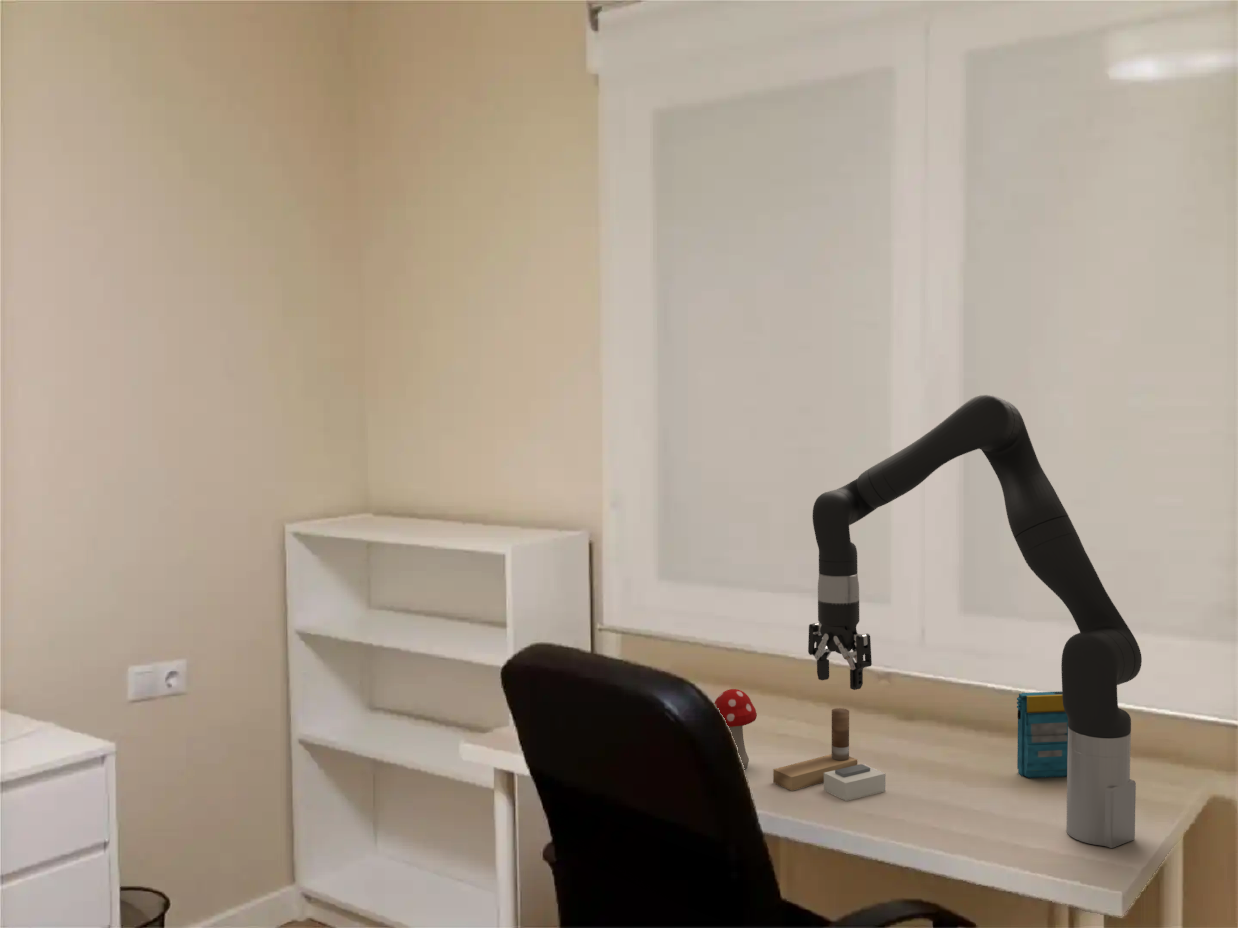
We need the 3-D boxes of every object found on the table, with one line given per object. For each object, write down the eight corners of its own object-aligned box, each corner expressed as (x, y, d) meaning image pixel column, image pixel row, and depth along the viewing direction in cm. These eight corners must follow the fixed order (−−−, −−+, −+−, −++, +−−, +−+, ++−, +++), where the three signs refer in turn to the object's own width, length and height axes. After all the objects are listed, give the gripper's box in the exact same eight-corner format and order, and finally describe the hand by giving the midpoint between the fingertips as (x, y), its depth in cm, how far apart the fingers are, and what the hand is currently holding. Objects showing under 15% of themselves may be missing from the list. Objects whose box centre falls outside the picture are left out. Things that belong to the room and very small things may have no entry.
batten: (857, 772, 212) (857, 759, 212) (791, 790, 204) (791, 777, 203) (838, 765, 216) (838, 752, 216) (773, 782, 208) (773, 769, 208)
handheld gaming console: (1065, 769, 211) (1066, 690, 210) (1076, 777, 207) (1077, 697, 206) (1014, 772, 211) (1015, 692, 210) (1023, 780, 207) (1024, 698, 206)
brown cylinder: (852, 758, 212) (852, 711, 212) (839, 762, 211) (840, 714, 210) (840, 754, 215) (840, 707, 214) (827, 757, 213) (828, 710, 213)
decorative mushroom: (737, 779, 209) (736, 699, 208) (699, 769, 215) (698, 691, 214) (767, 765, 217) (766, 687, 216) (729, 755, 223) (728, 680, 221)
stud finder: (885, 792, 203) (885, 770, 202) (845, 802, 198) (845, 779, 198) (863, 782, 208) (863, 760, 208) (823, 791, 204) (823, 769, 203)
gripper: (881, 600, 206) (882, 689, 208) (826, 589, 218) (827, 673, 220) (850, 606, 202) (851, 696, 204) (797, 594, 214) (798, 679, 216)
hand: (839, 684), depth 212 cm, fingers open, 8 cm apart
